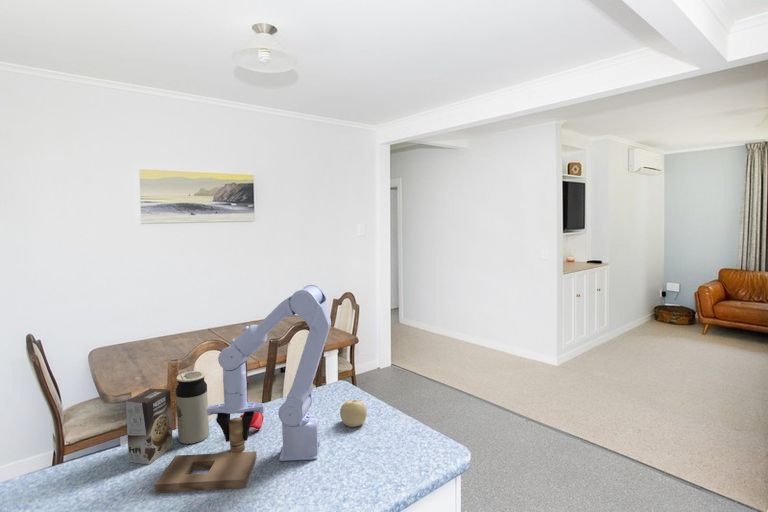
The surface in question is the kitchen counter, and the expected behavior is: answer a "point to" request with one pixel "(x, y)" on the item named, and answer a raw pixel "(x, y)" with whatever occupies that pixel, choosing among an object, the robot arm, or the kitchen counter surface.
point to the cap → (256, 420)
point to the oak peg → (236, 435)
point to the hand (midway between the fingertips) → (237, 439)
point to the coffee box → (149, 425)
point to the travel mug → (192, 407)
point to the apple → (353, 413)
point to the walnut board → (222, 475)
